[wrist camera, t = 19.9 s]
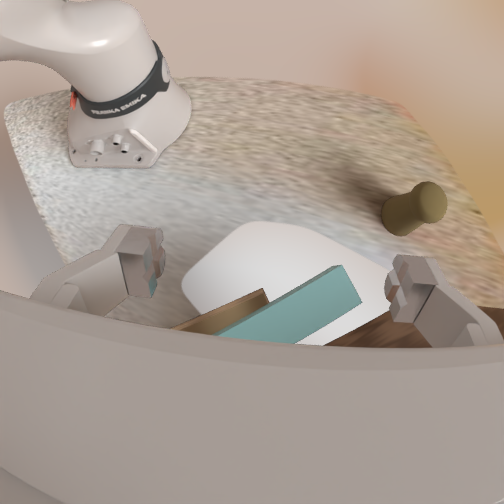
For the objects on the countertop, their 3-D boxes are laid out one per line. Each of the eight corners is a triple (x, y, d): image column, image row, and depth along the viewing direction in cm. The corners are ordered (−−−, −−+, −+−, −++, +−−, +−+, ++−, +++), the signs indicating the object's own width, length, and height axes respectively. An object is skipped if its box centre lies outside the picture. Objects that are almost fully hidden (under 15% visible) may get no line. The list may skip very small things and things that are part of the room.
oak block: (184, 382, 41) (151, 425, 27) (160, 332, 42) (114, 356, 27) (286, 339, 42) (299, 371, 27) (262, 287, 42) (263, 293, 27)
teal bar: (119, 417, 27) (105, 430, 23) (102, 389, 27) (85, 400, 23) (350, 299, 27) (362, 302, 24) (332, 266, 27) (341, 264, 24)
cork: (379, 196, 43) (411, 173, 32) (413, 197, 43) (450, 176, 32) (382, 236, 42) (417, 224, 31) (417, 236, 42) (457, 224, 31)
